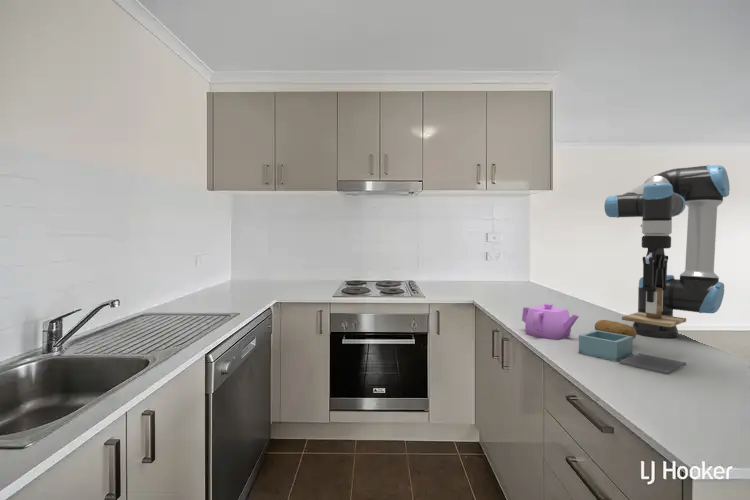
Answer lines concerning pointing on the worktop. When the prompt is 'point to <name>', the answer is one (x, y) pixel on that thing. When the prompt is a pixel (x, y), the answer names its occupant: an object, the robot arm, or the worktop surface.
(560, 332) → the teakettle
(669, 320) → the lid
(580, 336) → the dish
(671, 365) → the mat
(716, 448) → the worktop surface
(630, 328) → the potato
